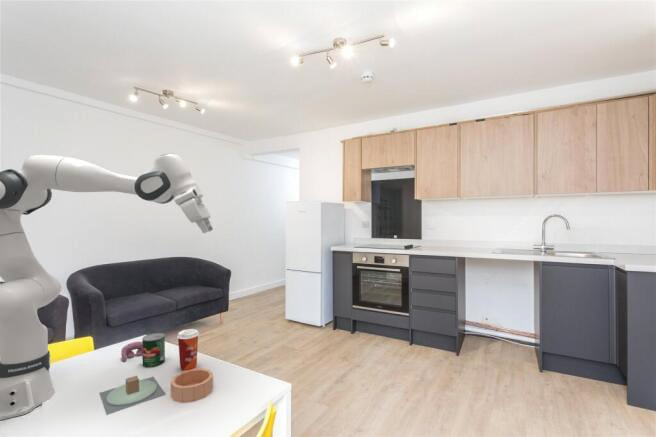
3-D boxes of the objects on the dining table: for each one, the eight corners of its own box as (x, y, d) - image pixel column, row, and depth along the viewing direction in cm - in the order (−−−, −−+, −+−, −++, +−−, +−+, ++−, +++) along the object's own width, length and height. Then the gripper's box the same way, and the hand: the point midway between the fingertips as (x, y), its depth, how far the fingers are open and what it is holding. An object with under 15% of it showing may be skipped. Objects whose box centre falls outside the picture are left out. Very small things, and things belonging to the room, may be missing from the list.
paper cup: (191, 374, 119) (190, 336, 119) (173, 372, 120) (172, 334, 120) (203, 364, 126) (203, 328, 126) (186, 362, 128) (185, 327, 128)
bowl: (178, 408, 97) (178, 392, 97) (166, 392, 106) (166, 377, 106) (218, 393, 105) (218, 378, 105) (204, 379, 115) (204, 365, 115)
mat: (106, 416, 94) (106, 414, 94) (99, 394, 106) (99, 392, 106) (166, 395, 104) (166, 394, 104) (153, 377, 116) (153, 376, 116)
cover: (110, 411, 95) (110, 395, 95) (103, 392, 105) (103, 378, 105) (161, 394, 104) (161, 379, 104) (150, 378, 115) (150, 365, 115)
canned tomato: (141, 370, 122) (141, 341, 122) (142, 362, 129) (142, 335, 129) (165, 366, 125) (165, 337, 125) (165, 358, 132) (164, 331, 132)
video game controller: (148, 356, 138) (146, 340, 140) (150, 355, 135) (148, 338, 137) (121, 363, 132) (119, 346, 134) (122, 362, 128) (121, 344, 131)
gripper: (187, 202, 122) (205, 233, 124) (172, 199, 102) (194, 238, 104) (203, 194, 123) (220, 226, 125) (191, 190, 103) (212, 228, 105)
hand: (208, 231), depth 114 cm, fingers open, 8 cm apart
